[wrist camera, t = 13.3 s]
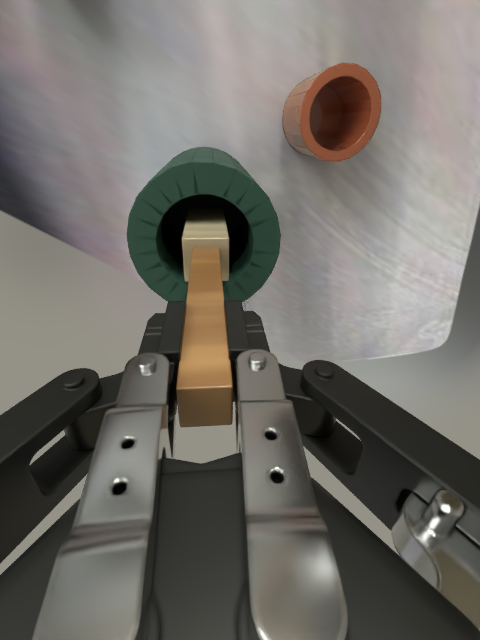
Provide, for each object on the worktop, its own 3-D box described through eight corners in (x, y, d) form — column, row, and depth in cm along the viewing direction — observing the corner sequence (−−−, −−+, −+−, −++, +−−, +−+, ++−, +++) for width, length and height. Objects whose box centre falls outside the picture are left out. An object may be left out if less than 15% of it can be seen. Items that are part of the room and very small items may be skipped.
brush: (188, 208, 26) (150, 373, 8) (223, 208, 26) (255, 369, 9) (190, 242, 27) (161, 442, 10) (223, 242, 27) (251, 437, 10)
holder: (285, 74, 30) (305, 61, 24) (354, 77, 30) (390, 65, 24) (279, 154, 33) (295, 160, 27) (341, 155, 34) (370, 162, 28)
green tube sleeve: (151, 146, 32) (114, 159, 19) (255, 148, 32) (287, 162, 20) (162, 248, 37) (138, 312, 24) (251, 247, 38) (274, 309, 25)
